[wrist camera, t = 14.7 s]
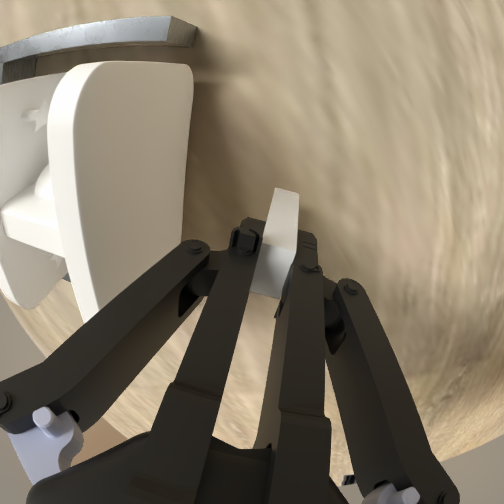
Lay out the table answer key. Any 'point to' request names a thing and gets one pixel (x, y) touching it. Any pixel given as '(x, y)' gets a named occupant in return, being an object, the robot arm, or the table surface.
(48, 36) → the bracket
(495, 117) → the table surface
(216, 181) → the table surface
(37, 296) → the cable organizer
